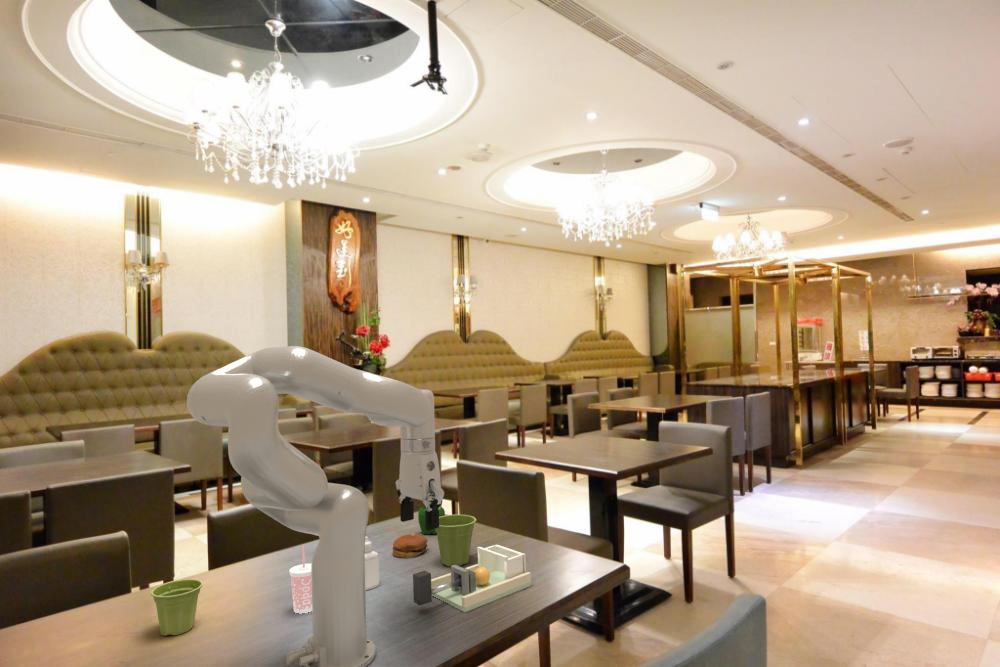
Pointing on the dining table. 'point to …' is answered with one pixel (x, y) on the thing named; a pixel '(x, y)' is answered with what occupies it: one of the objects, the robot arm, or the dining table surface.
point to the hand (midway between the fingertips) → (419, 524)
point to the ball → (482, 576)
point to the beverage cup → (301, 586)
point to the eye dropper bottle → (371, 566)
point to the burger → (409, 546)
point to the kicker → (425, 592)
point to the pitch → (503, 579)
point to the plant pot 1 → (176, 605)
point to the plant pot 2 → (455, 538)
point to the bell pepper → (422, 519)
